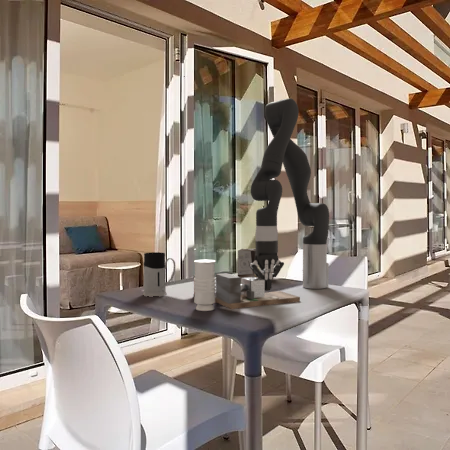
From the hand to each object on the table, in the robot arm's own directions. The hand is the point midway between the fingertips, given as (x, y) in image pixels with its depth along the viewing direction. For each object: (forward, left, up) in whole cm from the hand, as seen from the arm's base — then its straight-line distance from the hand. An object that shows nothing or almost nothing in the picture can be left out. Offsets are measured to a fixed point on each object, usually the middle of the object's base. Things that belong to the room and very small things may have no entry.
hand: (266, 290), depth 153 cm
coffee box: (-1, -16, -4) cm, 17 cm away
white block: (+7, 0, -1) cm, 7 cm away
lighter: (+17, -15, -4) cm, 23 cm away
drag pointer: (+9, +4, -1) cm, 9 cm away
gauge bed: (+4, 0, -4) cm, 5 cm away
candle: (+24, +2, -4) cm, 24 cm away
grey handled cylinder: (+30, -25, -4) cm, 39 cm away
